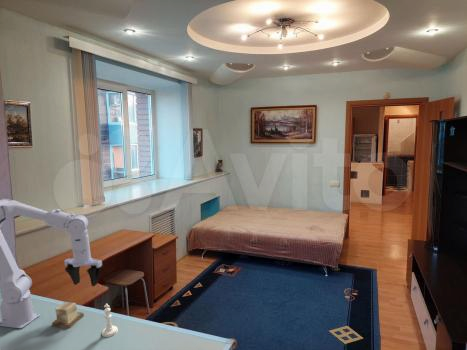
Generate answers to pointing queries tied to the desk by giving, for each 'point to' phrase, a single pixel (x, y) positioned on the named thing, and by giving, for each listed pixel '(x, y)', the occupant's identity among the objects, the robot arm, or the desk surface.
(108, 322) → the chess piece
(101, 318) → the desk surface
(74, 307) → the birch cube
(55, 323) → the brown framed square tile
